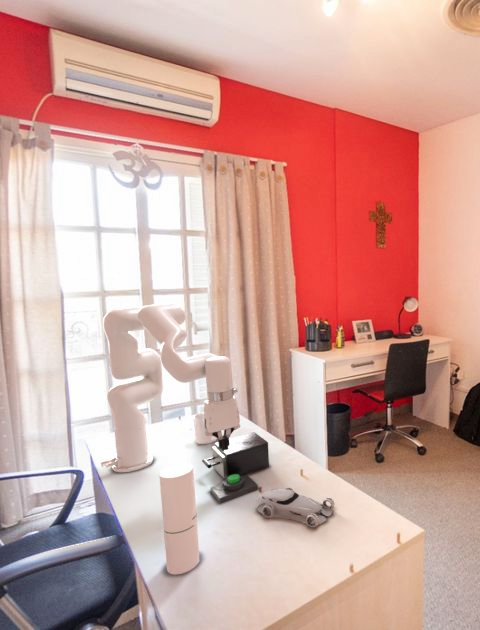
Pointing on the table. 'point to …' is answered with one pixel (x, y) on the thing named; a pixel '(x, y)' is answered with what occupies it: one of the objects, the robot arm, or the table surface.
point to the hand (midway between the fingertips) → (224, 448)
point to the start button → (233, 479)
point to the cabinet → (246, 454)
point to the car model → (294, 507)
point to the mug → (201, 430)
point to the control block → (233, 488)
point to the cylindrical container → (179, 518)
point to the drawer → (217, 462)
